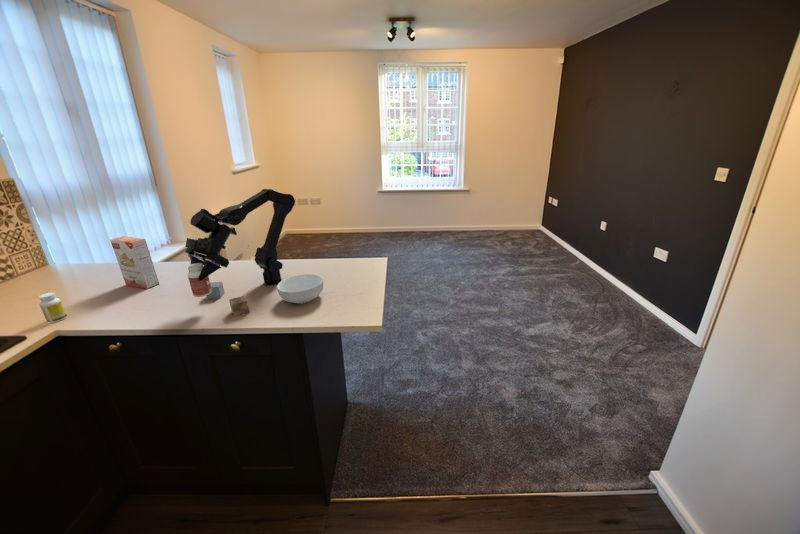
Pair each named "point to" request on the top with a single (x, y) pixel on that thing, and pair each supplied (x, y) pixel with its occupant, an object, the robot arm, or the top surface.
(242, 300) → the walnut cube
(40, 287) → the top surface
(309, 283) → the cereal bowl
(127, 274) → the cracker box
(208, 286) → the pill bottle
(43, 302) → the supplement bottle
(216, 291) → the slate-grey cube
